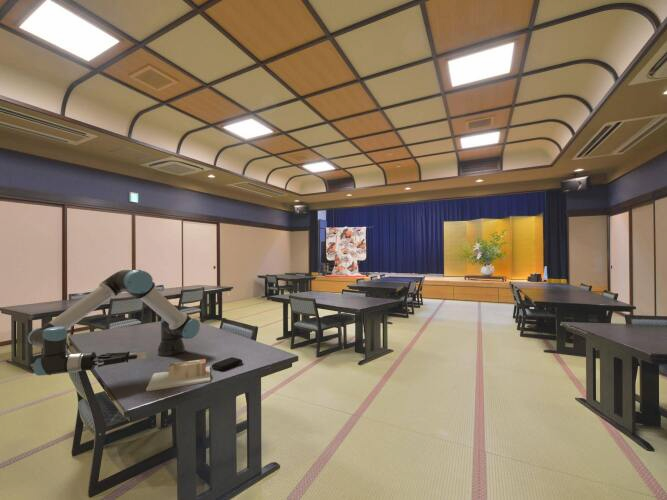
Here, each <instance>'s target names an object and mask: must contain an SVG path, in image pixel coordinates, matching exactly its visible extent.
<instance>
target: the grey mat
mask: <svg viewBox="0 0 667 500" xmlns="http://www.w3.org/2000/svg"><path fill="white" fill-rule="evenodd" d="M150 378H151V379H150V380H149V381H148V382H149V383H148V384H147V387H146V389H145V390H146V391H145V392H150V391H157V390H158V391H159V390H163V389H164V390H165V389H171V388H177V387H184V386H191V385H197V384H198V385H199V384H204V383H205V382H206V383H210V382H211V365H208V366H207V365H206V375H203V376H196V377H189V378H181V379H174V380H169V370H168V371H162V372H161V371H160V372H154V373H153V375H152V376H151V377H150Z"/></svg>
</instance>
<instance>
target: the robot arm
mask: <svg viewBox="0 0 667 500" xmlns="http://www.w3.org/2000/svg"><path fill="white" fill-rule="evenodd" d="M122 293H127V294H129V295H130V296H131V297H133V298H134V299H135V300H141V301H142V302H143V303H144V304H146V305H147V306H148V307H149V308H150V309H151V310H152V311H153V312H155V313H156V314H157V315H158V316H159V317H160V318H161V319H160V342H159V345H158V347H157V355H158V356H159V357H171V356H177V355H180V354H182V353H185V351H186V346H185V343H184V340H183V339H185V340H190V339H194V338H195V337H196V336H197V335H198V334H199V332H200V329H201V328H200V327H201V325H200V324H201V323H200V322H199V320H198V319H196V318H192V317H191V316H190V315H189V314H188V313H186V312H181V311H180V310H179V309H178V308H177V307H176V306H175V305H174V304H173V303H172V302H171V301H170V300H168V299H167V298H166V297H165V296H164V295H163V294H162V293H161V292H160V291H159V290H158V289H157V288H156V284H155V282H154V280H153V277H152V275H151V274H150V273H149V272H148V271H145V270H141V269H122V270H119V271H117V272H115V273H113V274H111V275H110V276H108V277H107V278H105V280H103V281H101V282H100V283H99V285H98V287H97V288H95V289H94V290H92V291H91V292H90V293H88V294H87V295H86V296H84V297H83V298H81V299H80V300H78V301H77V302H75V304H73V305H71V306H70V307H68V309H65V311H63V312H62V313H60V314H59V315H57V316H56V317H55V318H53V319H52V320H51V321H49V322H48V323H46V324H45V325H43V326H42V327H38V328H35V329H32V331H30V332H29V333H28V335H27V341H28V342H29V344H31V345H32V346H35V347H37V348H42V356H41V357H38V358H37V359H36V360H35V362H34V366H33V372H34V374H35V375H36V376H53V375H60V374H66V373H67V374H68V373H73V374H75V373H77V372H81V371H82V372H85V371H92V370H93V369H94V368H95V367H96V366H97V368H100V367H105V366H109V365H115V364H121V363H129V361H134V360H136V361H137V360H144V359H147V351H142V352H141V351H140V352H130V351H128V352H107V353H102V354H100V355H97V353H96V352H95V351H89V352H84V353H83V352H79V353H70V354H68V353H67V347H68V330H69V329H70V328H72V327H73V326H75V325H76V324H77V323H78V322H80V321H82V320H83V319H84V318H85V317H87V316H88V315H90V313H92V312H93V311H94V310H96V309H98V308H99V307H100V306H101V305H103V304H104V303H105V302H106V301H108V300H109V299H110V298H115V297H116V296H118V295H119V294H122Z"/></svg>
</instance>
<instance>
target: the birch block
mask: <svg viewBox="0 0 667 500" xmlns="http://www.w3.org/2000/svg"><path fill="white" fill-rule="evenodd" d="M206 362H207V360H206V358H203V359H195V360H188V361H187V360H186V361H178V362H171V363H169V366H168V371H169V380H174V379H181V378H189V377H196V376H203V375H206V366H207V364H206Z"/></svg>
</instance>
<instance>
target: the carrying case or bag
mask: <svg viewBox="0 0 667 500" xmlns="http://www.w3.org/2000/svg"><path fill="white" fill-rule="evenodd" d="M241 364H243V360H242V359H241V358H238V357H233V356H230V357H228V358H225V359H222V360H219V361H217V362H214V363H212V365H211V368H212V369H213V370H216V371H220V372H224V371H227V370H230V369H232V368H235V367H238V366H240V365H241ZM237 365H238V366H237Z"/></svg>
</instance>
